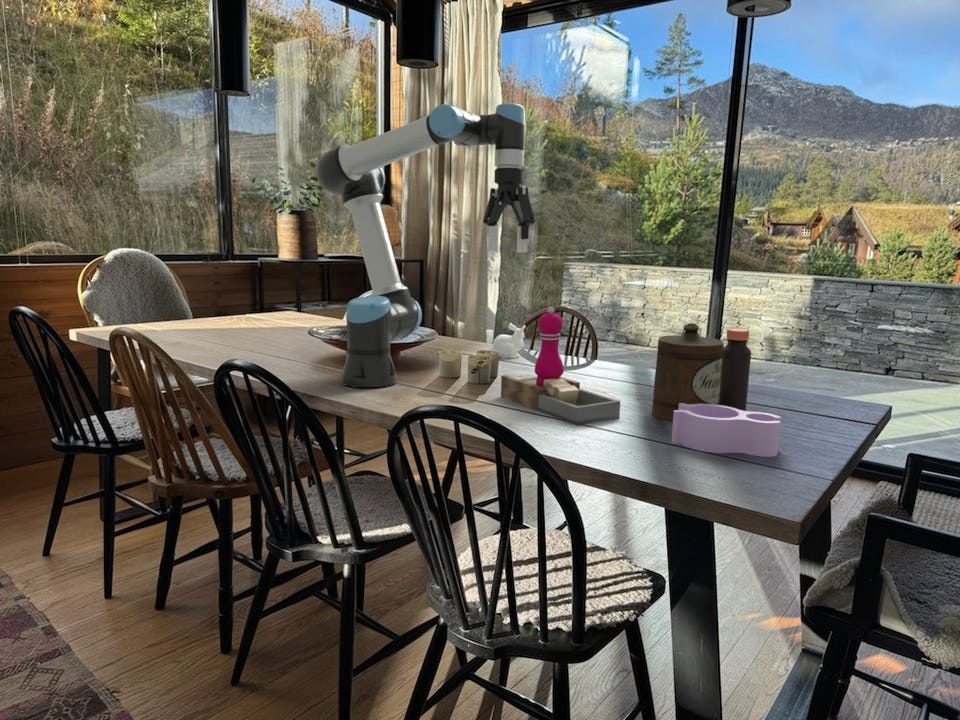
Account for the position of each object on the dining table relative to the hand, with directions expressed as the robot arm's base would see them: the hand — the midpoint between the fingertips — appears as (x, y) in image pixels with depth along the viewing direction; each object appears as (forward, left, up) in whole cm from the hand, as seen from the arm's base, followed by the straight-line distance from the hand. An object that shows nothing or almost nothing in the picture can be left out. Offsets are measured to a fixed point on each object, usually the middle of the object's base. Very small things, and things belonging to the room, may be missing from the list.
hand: (506, 251), depth 178 cm
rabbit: (-37, +28, -37) cm, 59 cm away
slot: (+16, 0, -37) cm, 40 cm away
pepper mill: (+19, +1, -33) cm, 38 cm away
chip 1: (+24, -1, -33) cm, 41 cm away
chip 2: (+27, -1, -33) cm, 43 cm away
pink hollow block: (+64, +11, -37) cm, 75 cm away
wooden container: (+44, +22, -37) cm, 61 cm away
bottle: (+47, +35, -37) cm, 69 cm away
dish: (+31, 0, -37) cm, 48 cm away
